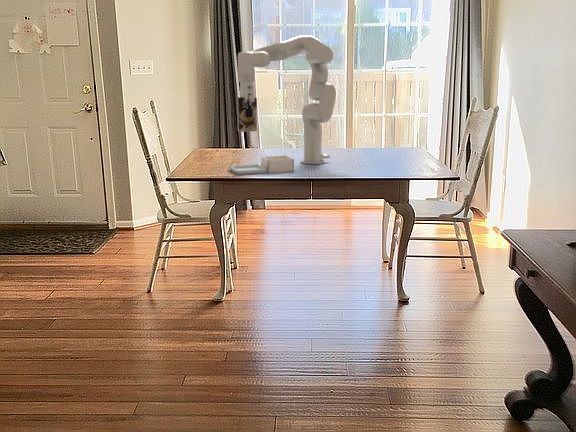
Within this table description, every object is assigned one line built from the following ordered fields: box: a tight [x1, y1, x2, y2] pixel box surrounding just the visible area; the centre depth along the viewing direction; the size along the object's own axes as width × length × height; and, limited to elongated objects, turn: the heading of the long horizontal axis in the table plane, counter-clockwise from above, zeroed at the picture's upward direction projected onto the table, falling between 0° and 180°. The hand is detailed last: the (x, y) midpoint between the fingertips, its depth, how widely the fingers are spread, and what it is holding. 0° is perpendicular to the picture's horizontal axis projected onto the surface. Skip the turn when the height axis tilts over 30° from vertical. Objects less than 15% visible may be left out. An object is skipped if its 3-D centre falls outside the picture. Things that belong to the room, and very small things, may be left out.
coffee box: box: [236, 96, 258, 133], centre depth 279 cm, size 9×6×16 cm
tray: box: [229, 163, 267, 176], centre depth 286 cm, size 15×14×2 cm
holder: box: [260, 154, 295, 173], centre depth 291 cm, size 14×12×6 cm
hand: (247, 115), depth 279 cm, fingers closed on coffee box, 6 cm apart
